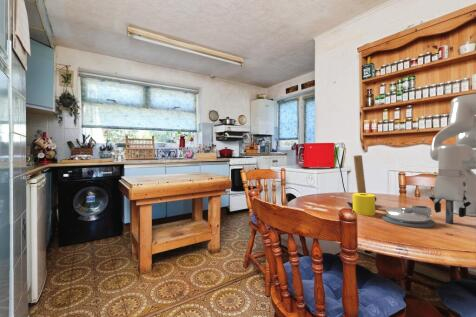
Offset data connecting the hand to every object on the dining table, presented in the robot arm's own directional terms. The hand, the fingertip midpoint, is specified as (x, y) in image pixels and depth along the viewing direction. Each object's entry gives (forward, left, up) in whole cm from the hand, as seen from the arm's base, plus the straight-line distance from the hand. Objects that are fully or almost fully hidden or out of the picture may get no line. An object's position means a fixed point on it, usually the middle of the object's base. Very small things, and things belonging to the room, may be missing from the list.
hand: (449, 214), depth 100 cm
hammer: (+6, -37, -4) cm, 38 cm away
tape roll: (+17, -28, -4) cm, 33 cm away
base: (+12, -10, -4) cm, 16 cm away
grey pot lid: (+12, -10, -3) cm, 16 cm away
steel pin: (0, 0, -4) cm, 4 cm away
